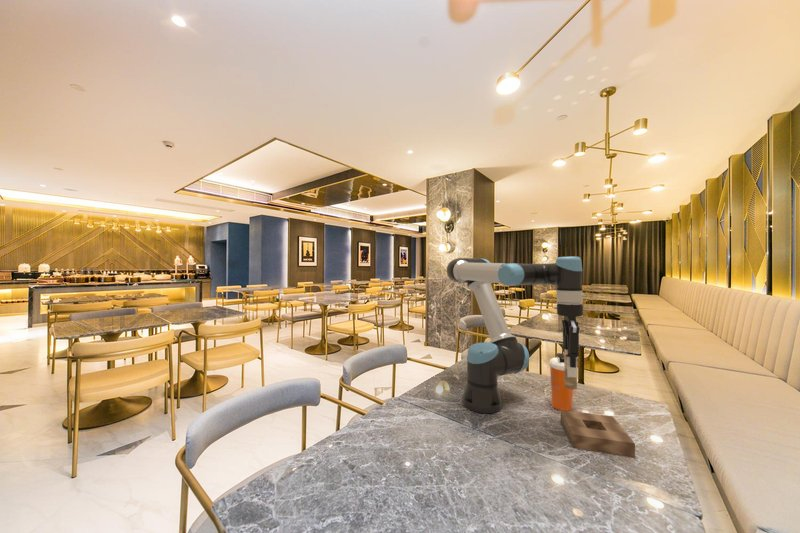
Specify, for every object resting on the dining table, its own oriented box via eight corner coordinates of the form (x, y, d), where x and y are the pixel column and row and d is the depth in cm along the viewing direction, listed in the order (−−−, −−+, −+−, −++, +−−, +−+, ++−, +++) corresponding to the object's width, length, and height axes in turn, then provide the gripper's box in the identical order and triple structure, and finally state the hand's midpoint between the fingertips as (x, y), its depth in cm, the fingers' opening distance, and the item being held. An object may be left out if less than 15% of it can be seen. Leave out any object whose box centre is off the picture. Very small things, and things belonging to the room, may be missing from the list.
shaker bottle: (568, 402, 121) (569, 352, 121) (579, 413, 112) (580, 359, 112) (545, 400, 122) (546, 352, 122) (554, 411, 113) (555, 358, 113)
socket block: (572, 447, 91) (573, 434, 91) (560, 420, 106) (560, 409, 106) (634, 457, 87) (635, 443, 87) (612, 428, 102) (612, 416, 102)
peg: (565, 388, 97) (565, 351, 98) (563, 384, 101) (563, 348, 101) (578, 389, 96) (577, 352, 96) (575, 386, 100) (575, 349, 100)
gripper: (589, 306, 90) (591, 384, 90) (576, 301, 106) (577, 368, 105) (561, 305, 92) (563, 382, 92) (552, 300, 108) (554, 366, 107)
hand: (571, 374), depth 99 cm, fingers closed on peg, 3 cm apart
